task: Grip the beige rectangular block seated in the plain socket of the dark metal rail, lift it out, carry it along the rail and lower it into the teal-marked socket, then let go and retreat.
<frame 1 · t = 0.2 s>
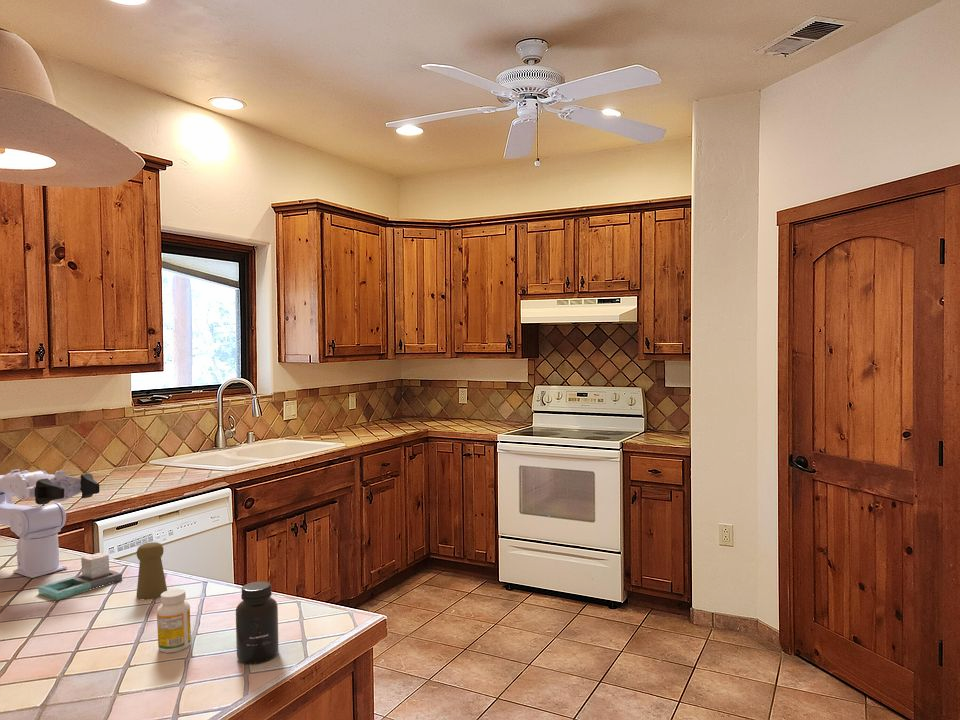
hand: (80, 490, 154), 21 cm above the counter, tool horizontal, fingers open, 7 cm apart
supplement bottle 2: (175, 647, 121), on the counter
beige rectangular block: (96, 582, 156), resting in rail
cork: (152, 595, 148), on the counter
rail: (81, 586, 154), on the counter
supplement bottle: (258, 656, 117), on the counter
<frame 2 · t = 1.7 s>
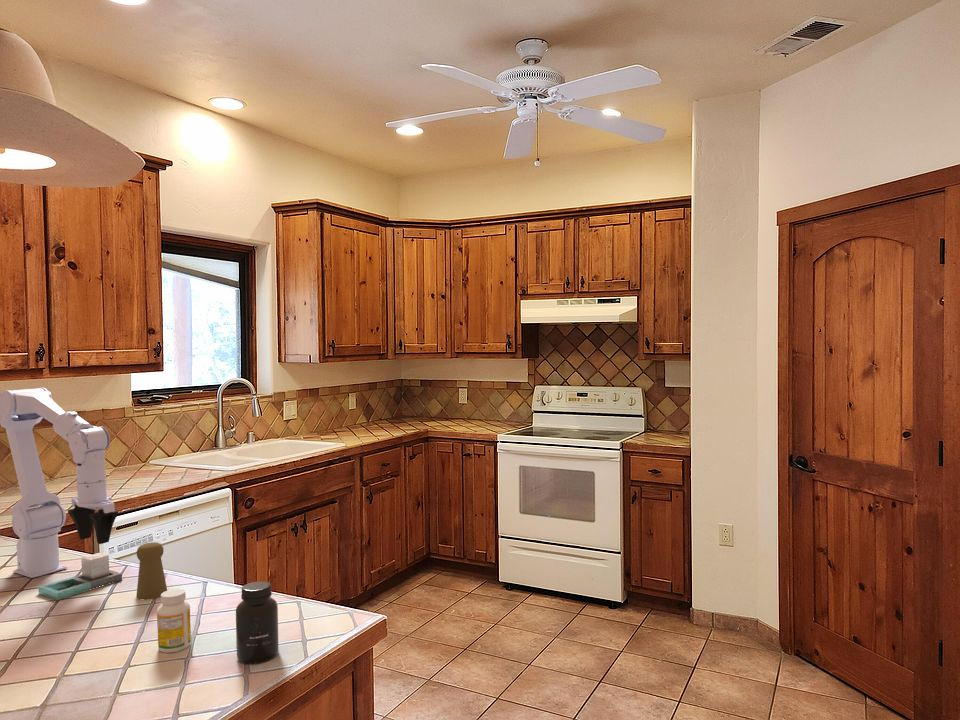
hand: (94, 540, 156), 10 cm above the counter, tool pointing down, fingers open, 7 cm apart
nothing on the counter moved.
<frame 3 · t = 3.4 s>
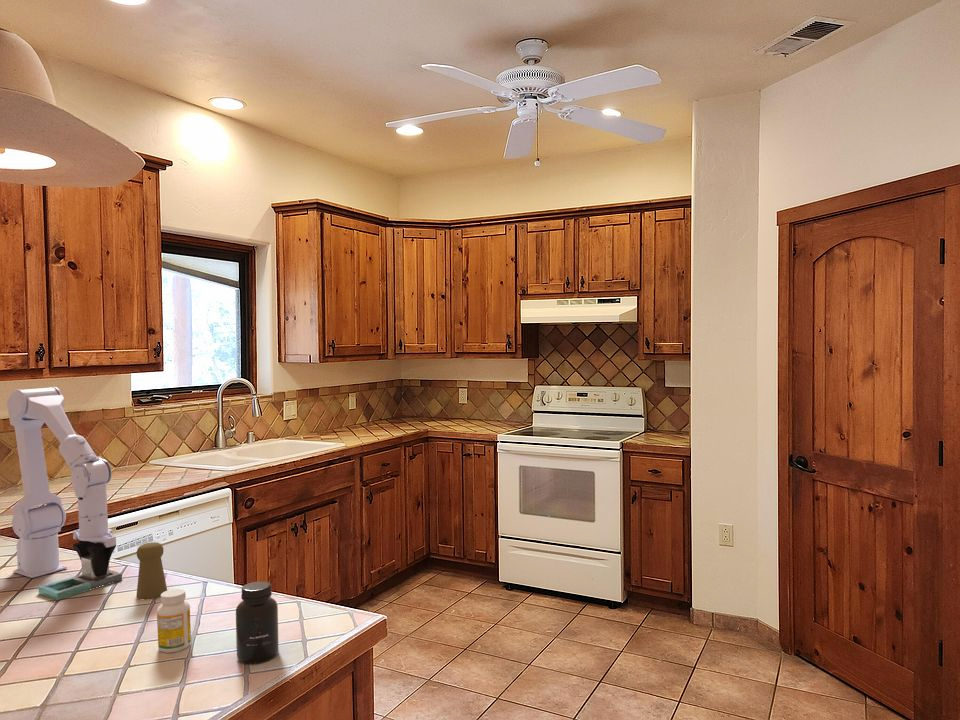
hand: (95, 573, 156), 2 cm above the counter, tool pointing down, fingers closed on beige rectangular block, 4 cm apart
beige rectangular block: (96, 582, 156), resting in rail, touching gripper
everything else where it was.
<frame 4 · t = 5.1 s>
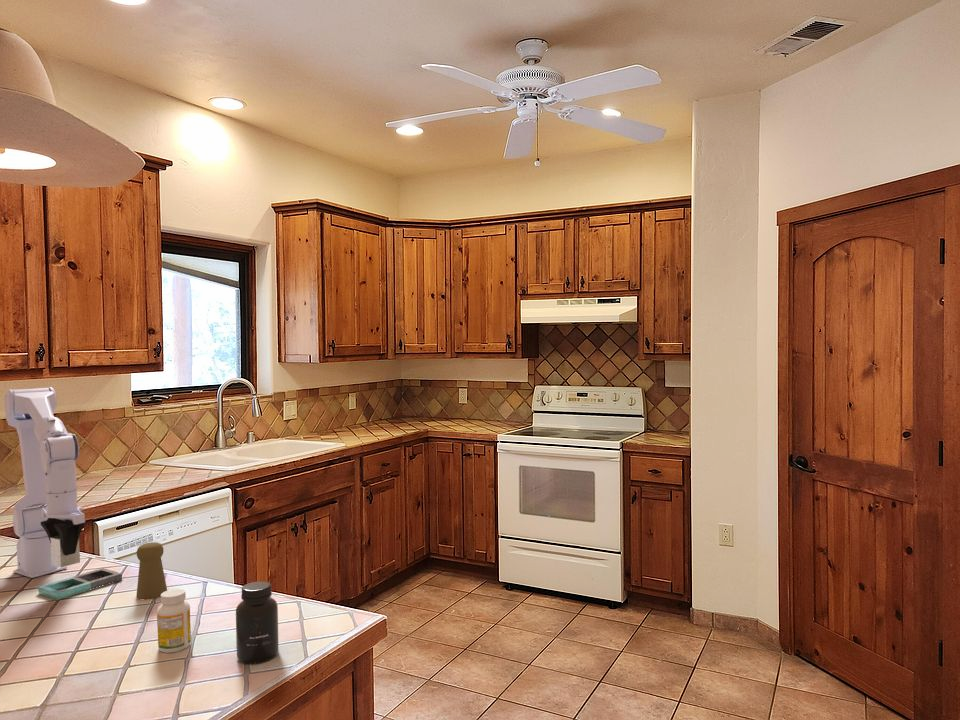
hand: (64, 552, 151), 9 cm above the counter, tool pointing down, fingers closed on beige rectangular block, 4 cm apart
beige rectangular block: (65, 563, 151), point 6 cm above the counter, touching gripper
everything else where it was.
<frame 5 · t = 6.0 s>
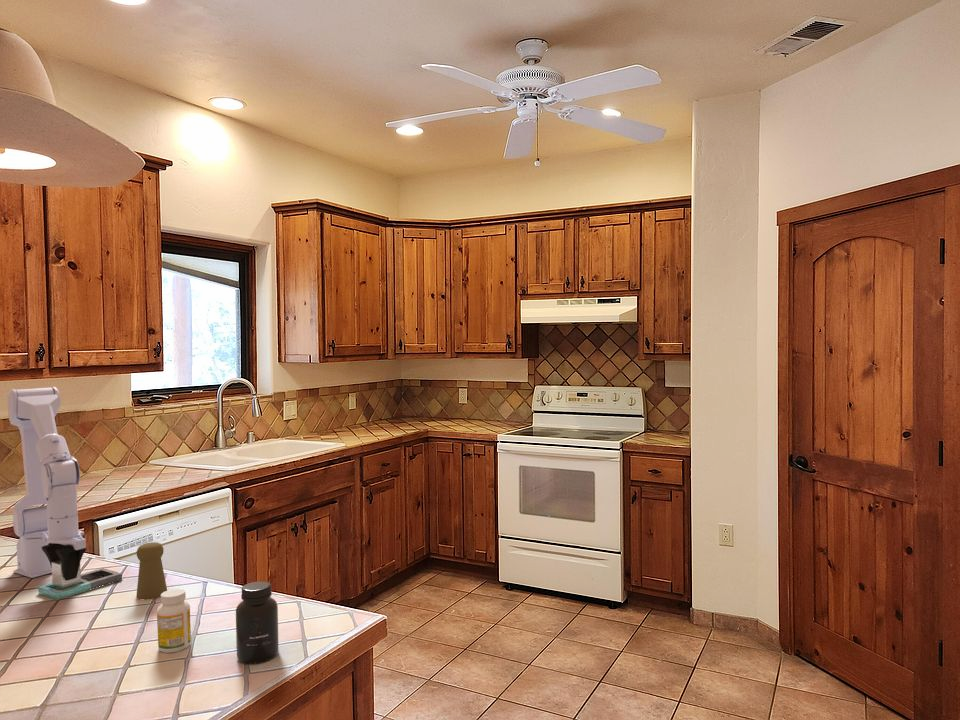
hand: (65, 577, 151), 3 cm above the counter, tool pointing down, fingers closed on beige rectangular block, 4 cm apart
beige rectangular block: (67, 588, 151), point 1 cm above the counter, touching gripper
everything else where it was.
when the fingers open (3 cm above the counter, at t = 6.9 s): beige rectangular block stays where it is, resting in rail.
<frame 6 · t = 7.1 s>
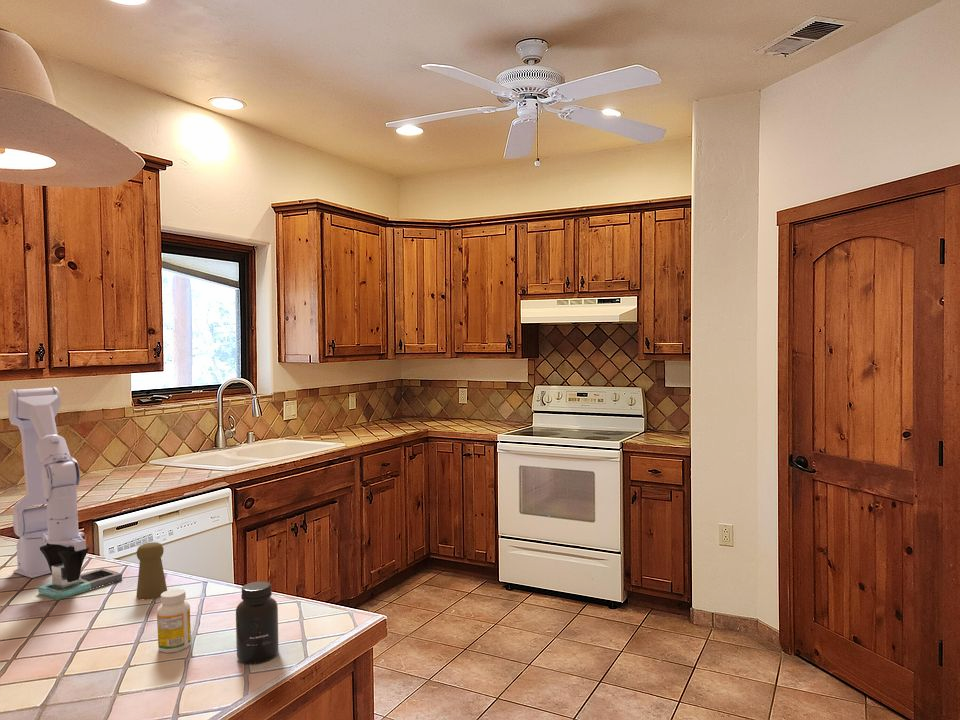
hand: (65, 578, 151), 3 cm above the counter, tool pointing down, fingers open, 6 cm apart
beige rectangular block: (67, 591, 151), resting in rail
everything else where it was.
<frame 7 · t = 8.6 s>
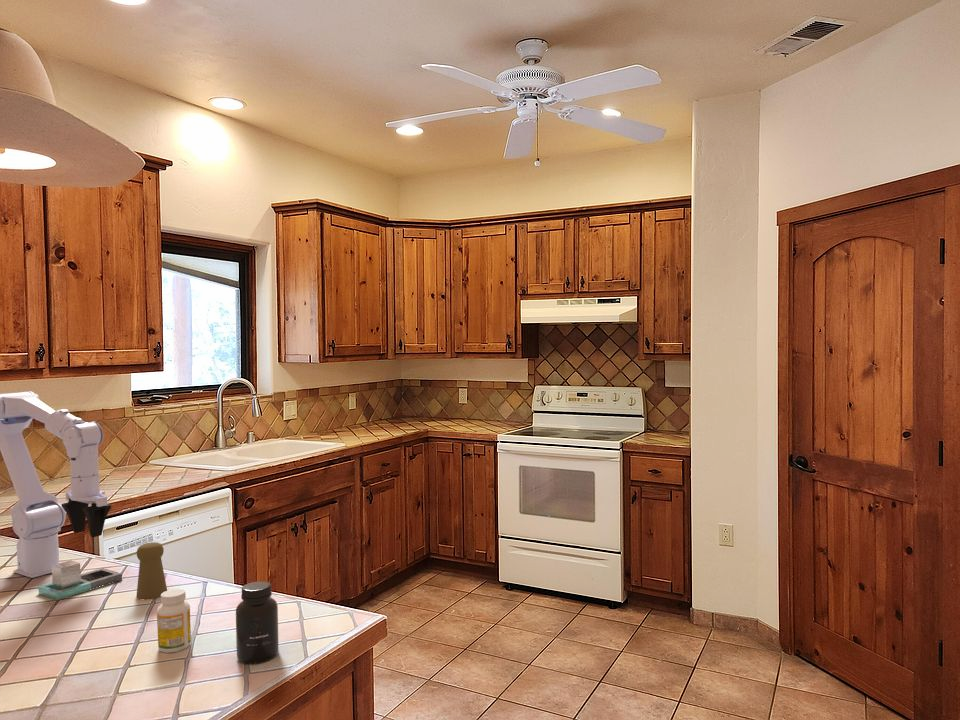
hand: (87, 533, 159), 10 cm above the counter, tool pointing down, fingers open, 7 cm apart
nothing on the counter moved.
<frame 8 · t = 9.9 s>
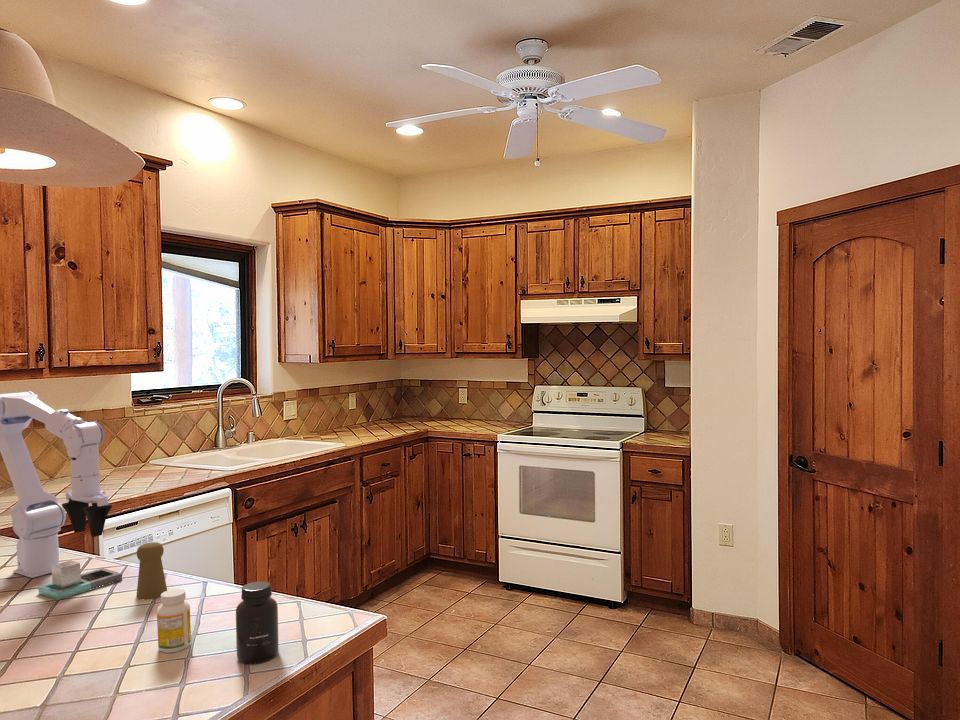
hand: (88, 533, 159), 10 cm above the counter, tool pointing down, fingers open, 7 cm apart
nothing on the counter moved.
at the end: beige rectangular block 0.1 cm from the target spot on the rail, point 0.0 cm above the rail's base; beige rectangular block tilted 0°; the gripper is holding nothing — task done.
